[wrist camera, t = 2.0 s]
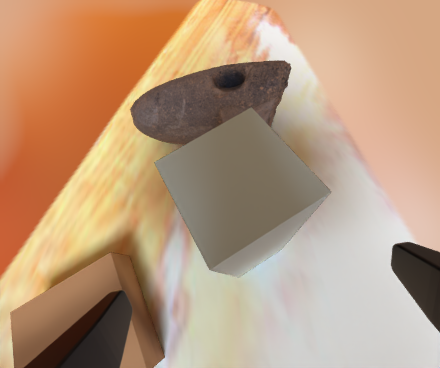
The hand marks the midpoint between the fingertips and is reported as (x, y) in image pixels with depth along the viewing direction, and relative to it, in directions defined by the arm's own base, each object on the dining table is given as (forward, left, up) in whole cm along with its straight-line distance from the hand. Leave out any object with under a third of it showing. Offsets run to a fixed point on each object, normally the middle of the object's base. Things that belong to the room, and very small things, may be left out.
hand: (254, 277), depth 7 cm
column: (+3, -1, -10) cm, 11 cm away
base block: (+3, +12, -10) cm, 16 cm away
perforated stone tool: (+14, -4, -10) cm, 18 cm away
